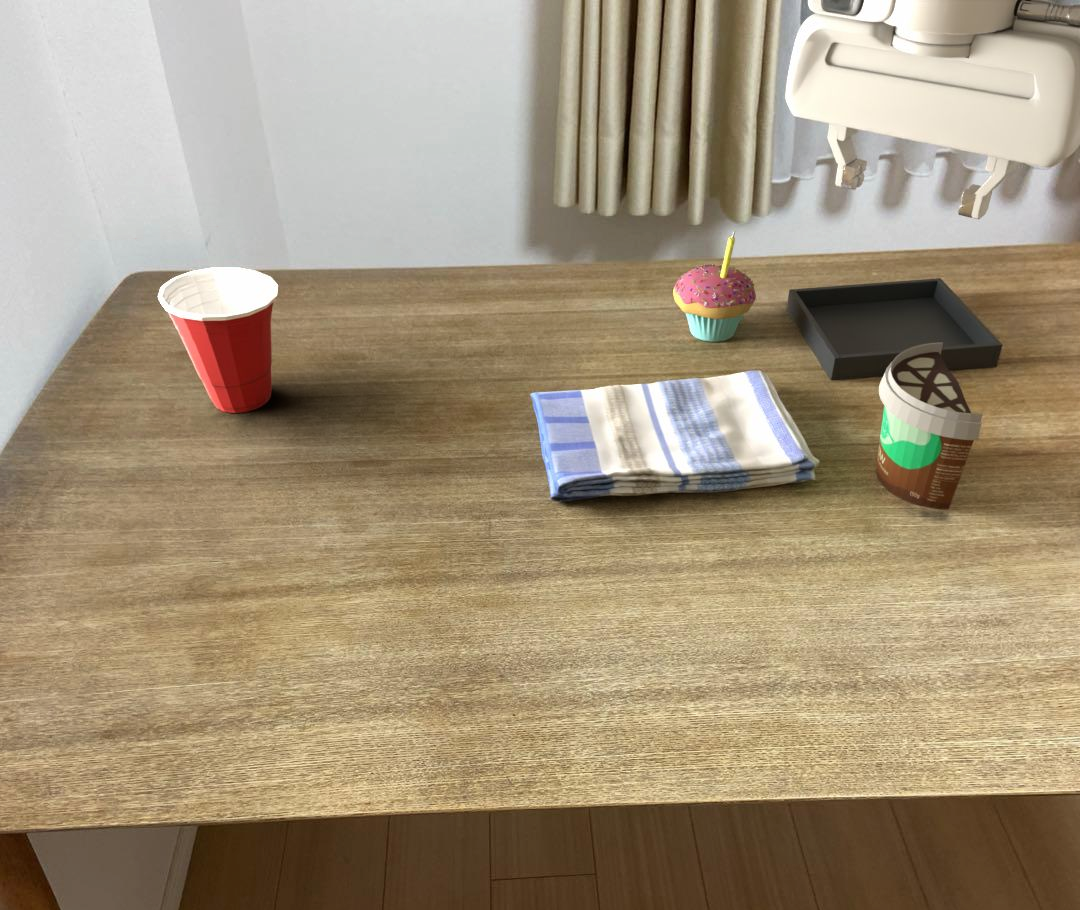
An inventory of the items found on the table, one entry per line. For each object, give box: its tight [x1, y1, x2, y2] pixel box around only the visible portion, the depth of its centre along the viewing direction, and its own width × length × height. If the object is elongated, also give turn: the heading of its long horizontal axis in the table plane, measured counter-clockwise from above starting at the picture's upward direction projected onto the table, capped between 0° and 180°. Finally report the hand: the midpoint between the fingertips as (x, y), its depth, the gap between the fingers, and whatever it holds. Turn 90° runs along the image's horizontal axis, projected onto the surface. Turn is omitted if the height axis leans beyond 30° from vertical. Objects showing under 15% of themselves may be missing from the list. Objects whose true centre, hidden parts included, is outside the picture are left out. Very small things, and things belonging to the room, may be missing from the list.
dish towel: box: [530, 369, 821, 503], centre depth 93 cm, size 17×24×3 cm
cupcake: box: [672, 230, 757, 343], centre depth 106 cm, size 9×8×12 cm
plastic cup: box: [157, 266, 279, 414], centre depth 98 cm, size 11×11×12 cm
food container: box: [875, 343, 984, 510], centre depth 86 cm, size 12×6×10 cm, turn 178°
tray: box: [785, 277, 1004, 381], centre depth 107 cm, size 17×15×2 cm
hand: (908, 200), depth 74 cm, fingers open, 8 cm apart
